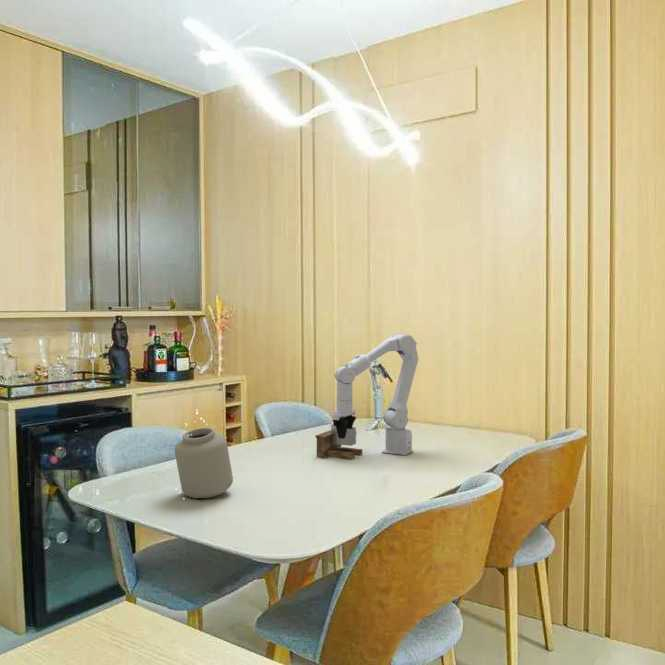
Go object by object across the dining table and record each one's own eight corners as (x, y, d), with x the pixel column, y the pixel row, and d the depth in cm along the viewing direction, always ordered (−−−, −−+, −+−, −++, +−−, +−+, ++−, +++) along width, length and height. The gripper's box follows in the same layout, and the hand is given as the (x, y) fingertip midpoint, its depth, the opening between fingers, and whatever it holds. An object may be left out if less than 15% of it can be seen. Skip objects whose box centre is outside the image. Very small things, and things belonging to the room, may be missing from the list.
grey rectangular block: (355, 443, 241) (355, 427, 240) (351, 445, 237) (351, 429, 237) (336, 441, 244) (336, 425, 244) (331, 443, 241) (331, 427, 240)
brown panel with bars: (365, 453, 245) (365, 432, 244) (348, 461, 232) (348, 439, 231) (333, 449, 251) (333, 428, 250) (315, 457, 238) (315, 435, 237)
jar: (192, 508, 177) (192, 415, 176) (158, 498, 186) (157, 410, 185) (243, 492, 192) (243, 407, 191) (209, 484, 201) (209, 402, 200)
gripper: (343, 396, 248) (343, 432, 249) (325, 401, 235) (325, 439, 236) (360, 398, 245) (360, 434, 245) (343, 403, 232) (343, 441, 233)
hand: (344, 437), depth 240 cm, fingers closed on grey rectangular block, 4 cm apart
